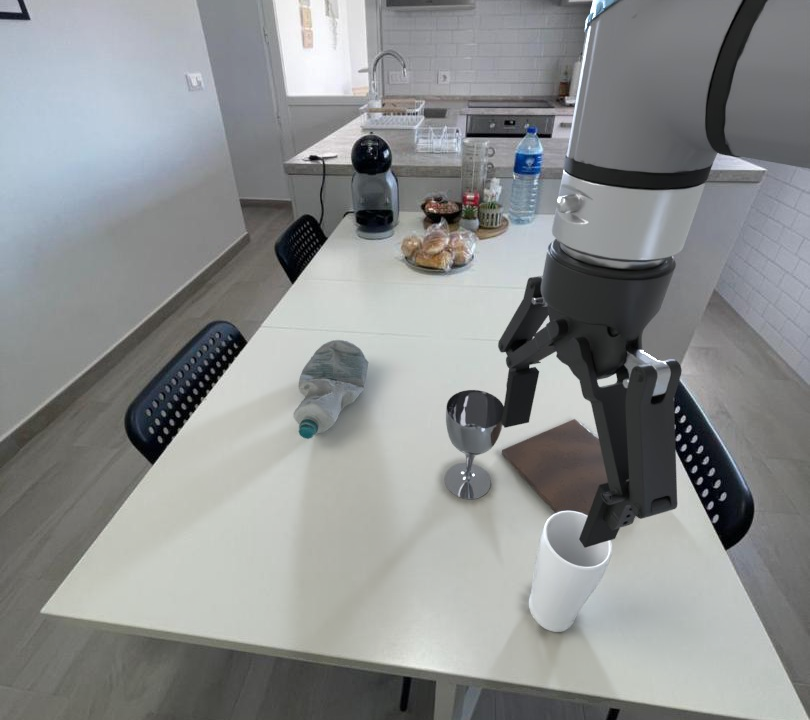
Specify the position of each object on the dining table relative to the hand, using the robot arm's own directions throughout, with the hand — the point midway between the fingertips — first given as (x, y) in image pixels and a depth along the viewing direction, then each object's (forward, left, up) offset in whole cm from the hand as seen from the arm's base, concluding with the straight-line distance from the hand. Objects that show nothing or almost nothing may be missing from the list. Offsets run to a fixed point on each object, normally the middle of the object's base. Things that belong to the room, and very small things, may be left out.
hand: (550, 473), depth 40 cm
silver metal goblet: (+19, -5, -24) cm, 31 cm away
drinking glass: (-2, -3, -24) cm, 25 cm away
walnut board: (+13, -21, -24) cm, 35 cm away
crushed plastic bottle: (+47, +8, -24) cm, 53 cm away
